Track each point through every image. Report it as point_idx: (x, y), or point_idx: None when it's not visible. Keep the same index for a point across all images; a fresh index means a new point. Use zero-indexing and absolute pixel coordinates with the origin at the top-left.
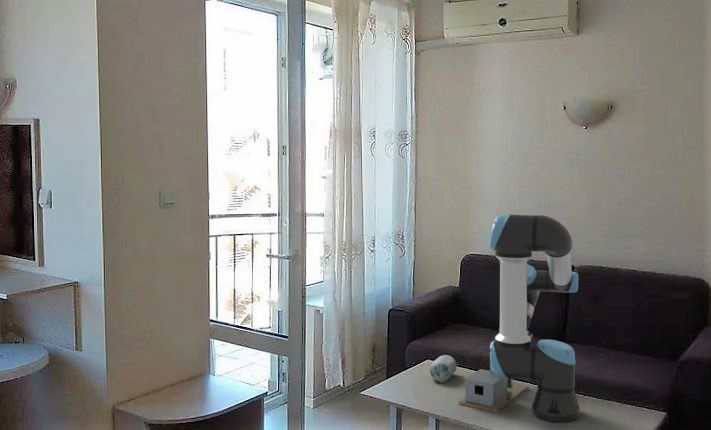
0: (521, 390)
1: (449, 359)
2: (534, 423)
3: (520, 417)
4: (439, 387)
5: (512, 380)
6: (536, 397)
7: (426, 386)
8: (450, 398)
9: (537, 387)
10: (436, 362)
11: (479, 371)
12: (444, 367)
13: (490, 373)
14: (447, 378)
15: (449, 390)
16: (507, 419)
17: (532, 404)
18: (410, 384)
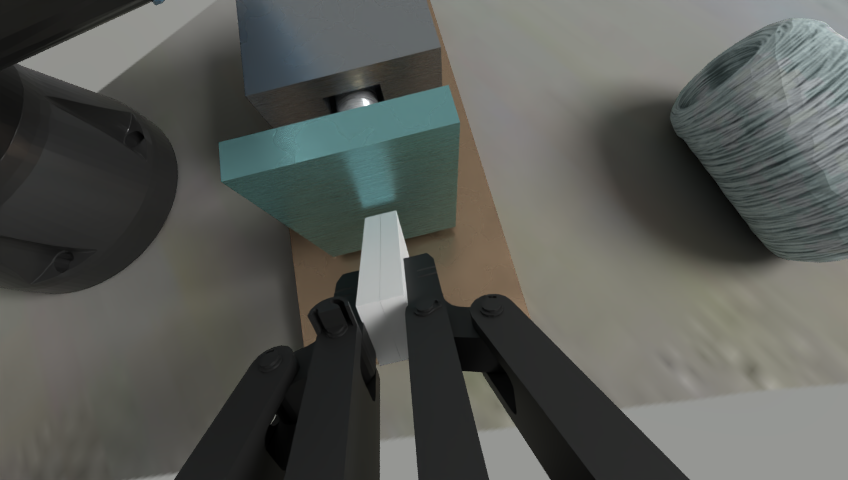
0: (300, 288)
1: (825, 118)
2: (123, 72)
3: (185, 76)
4: (634, 75)
5: (318, 244)
6: (72, 87)
7: (682, 44)
8: (497, 26)
9: (22, 74)
10: (814, 21)
11: (414, 12)
12: (731, 58)
13: (338, 32)
14: (673, 119)
15: (573, 81)
16: (214, 35)
17: (136, 119)
18: (750, 13)
